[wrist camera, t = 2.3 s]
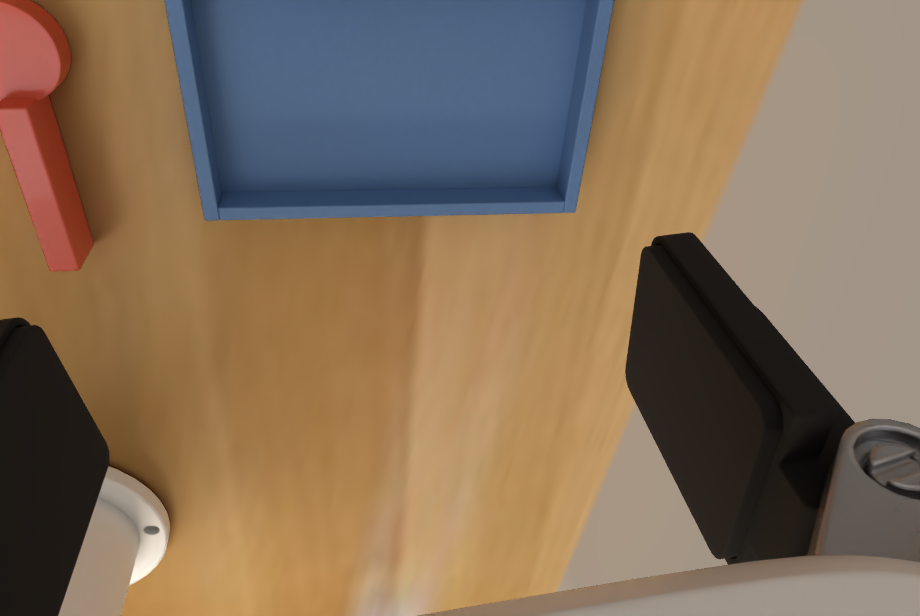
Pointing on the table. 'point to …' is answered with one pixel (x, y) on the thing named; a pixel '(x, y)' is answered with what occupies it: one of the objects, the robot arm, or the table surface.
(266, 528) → the table surface
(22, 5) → the red spoon
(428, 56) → the blue tray
